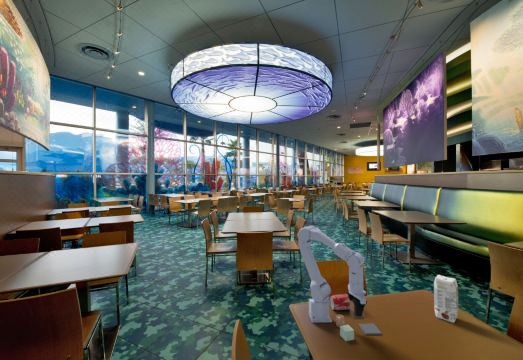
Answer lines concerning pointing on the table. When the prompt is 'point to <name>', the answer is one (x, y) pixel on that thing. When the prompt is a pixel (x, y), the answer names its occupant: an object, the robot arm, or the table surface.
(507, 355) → the table surface
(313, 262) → the robot arm
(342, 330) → the pale green cube
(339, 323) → the pinkish brown rounded cylinder
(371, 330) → the slate coaster
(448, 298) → the white food bag
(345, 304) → the soda can
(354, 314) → the walnut block
